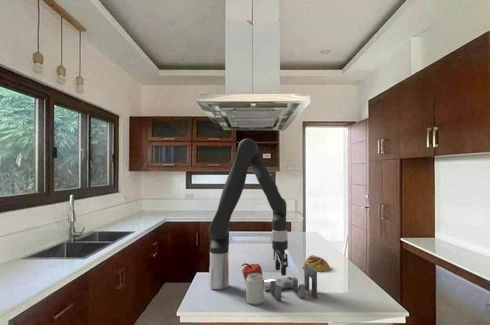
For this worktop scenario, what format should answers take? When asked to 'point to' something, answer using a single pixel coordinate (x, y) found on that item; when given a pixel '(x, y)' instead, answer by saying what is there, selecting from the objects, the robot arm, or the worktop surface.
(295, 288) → the grey u-shaped bracket
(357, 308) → the worktop surface
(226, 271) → the robot arm
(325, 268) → the pastry
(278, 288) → the grey metal blocks
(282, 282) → the tube
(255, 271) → the vegetable
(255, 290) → the can
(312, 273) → the frame
